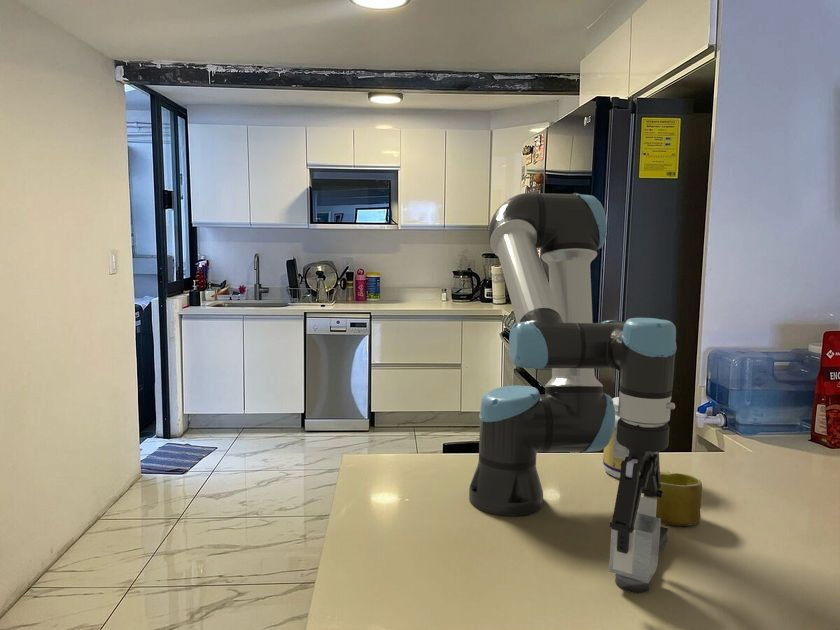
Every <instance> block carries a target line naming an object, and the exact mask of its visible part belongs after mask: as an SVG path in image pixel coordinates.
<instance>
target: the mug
mask: <svg viewBox="0 0 840 630" xmlns="http://www.w3.org/2000/svg"><path fill="white" fill-rule="evenodd" d="M660 482H661V487H660V489H658V490H660V491H663V494H662V498H660V497H655V496H654V498H657V506H656V517H657V518H661V523H663V524H664V525H671V526H676V527H677V526H678V527H679V526H682V527H683V526H685V527H686V526H690V525H691V526H693V525H696V524H699V523H700V521H701V509H702V508H701V507H702V495H703V484H702V481H701V479H699V478H698V477H695V476H693V475H691V474H686V473H679V472H678V473H677V472H674V473H672V472H670V471H669V470H660Z"/></svg>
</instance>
